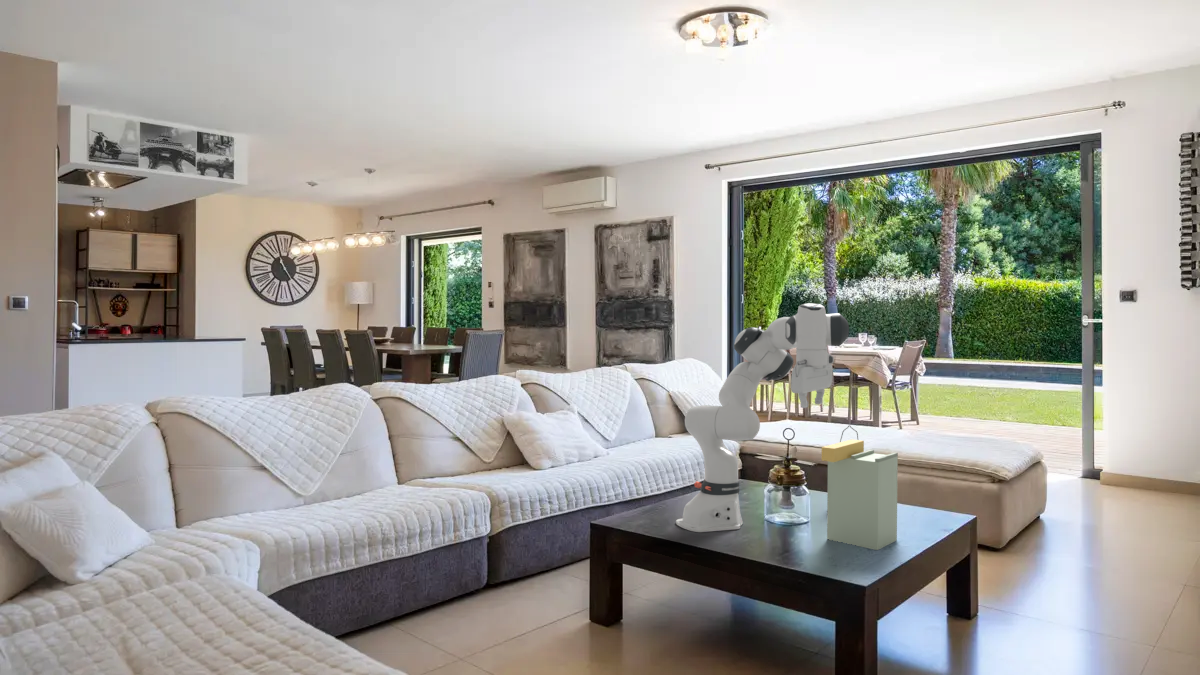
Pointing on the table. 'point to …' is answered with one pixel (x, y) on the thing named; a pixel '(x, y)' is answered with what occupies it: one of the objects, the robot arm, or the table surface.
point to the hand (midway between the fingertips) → (811, 405)
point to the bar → (842, 450)
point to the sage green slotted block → (863, 500)
